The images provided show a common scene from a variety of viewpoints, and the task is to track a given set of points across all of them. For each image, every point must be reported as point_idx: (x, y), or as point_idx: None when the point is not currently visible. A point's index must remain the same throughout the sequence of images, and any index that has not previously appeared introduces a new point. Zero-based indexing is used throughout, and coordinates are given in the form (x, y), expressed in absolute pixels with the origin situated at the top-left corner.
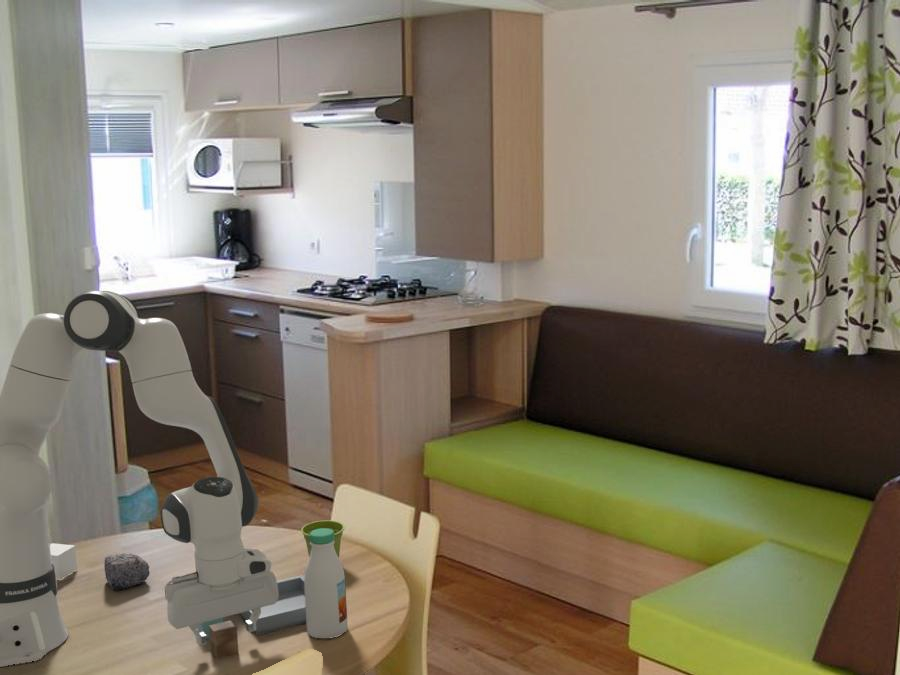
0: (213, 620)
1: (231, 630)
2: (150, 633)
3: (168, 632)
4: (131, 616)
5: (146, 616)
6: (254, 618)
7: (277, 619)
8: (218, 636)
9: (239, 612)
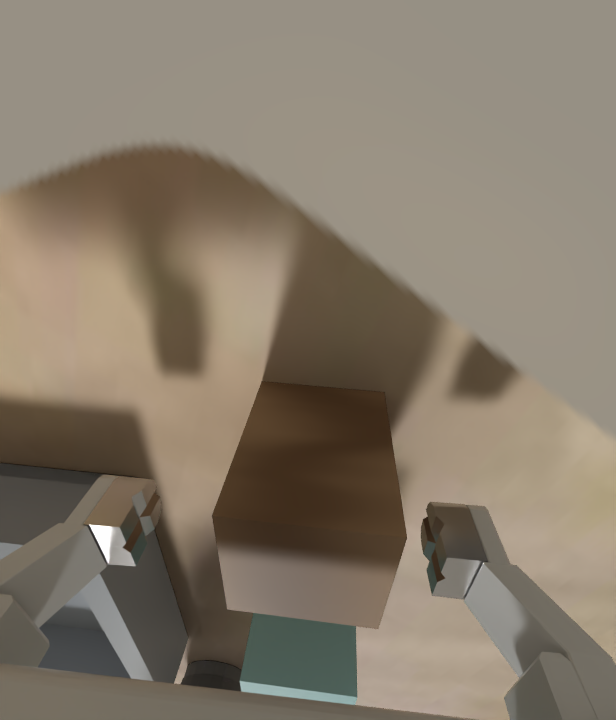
0: (298, 632)
1: (260, 516)
2: (482, 650)
3: (432, 631)
4: (464, 711)
5: (431, 698)
6: (48, 554)
7: (2, 511)
8: (376, 507)
9: (103, 690)
